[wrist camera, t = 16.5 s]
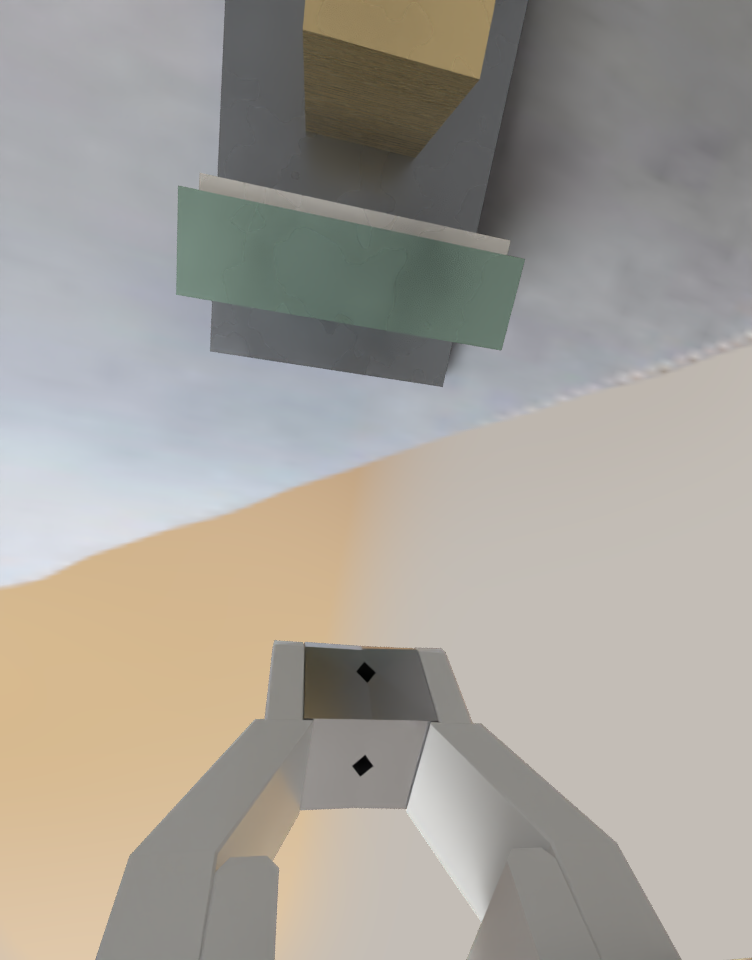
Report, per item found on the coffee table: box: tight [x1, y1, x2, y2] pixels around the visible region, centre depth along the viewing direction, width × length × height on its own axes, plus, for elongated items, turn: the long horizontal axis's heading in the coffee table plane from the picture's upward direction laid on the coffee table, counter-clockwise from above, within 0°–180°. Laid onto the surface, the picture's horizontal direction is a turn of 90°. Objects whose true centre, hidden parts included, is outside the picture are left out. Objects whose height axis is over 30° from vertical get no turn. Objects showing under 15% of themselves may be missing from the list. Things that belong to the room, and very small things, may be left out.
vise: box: [210, 0, 528, 387], centre depth 16 cm, size 21×11×8 cm, turn 170°
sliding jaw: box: [176, 173, 525, 350], centre depth 18 cm, size 4×11×6 cm, turn 80°
